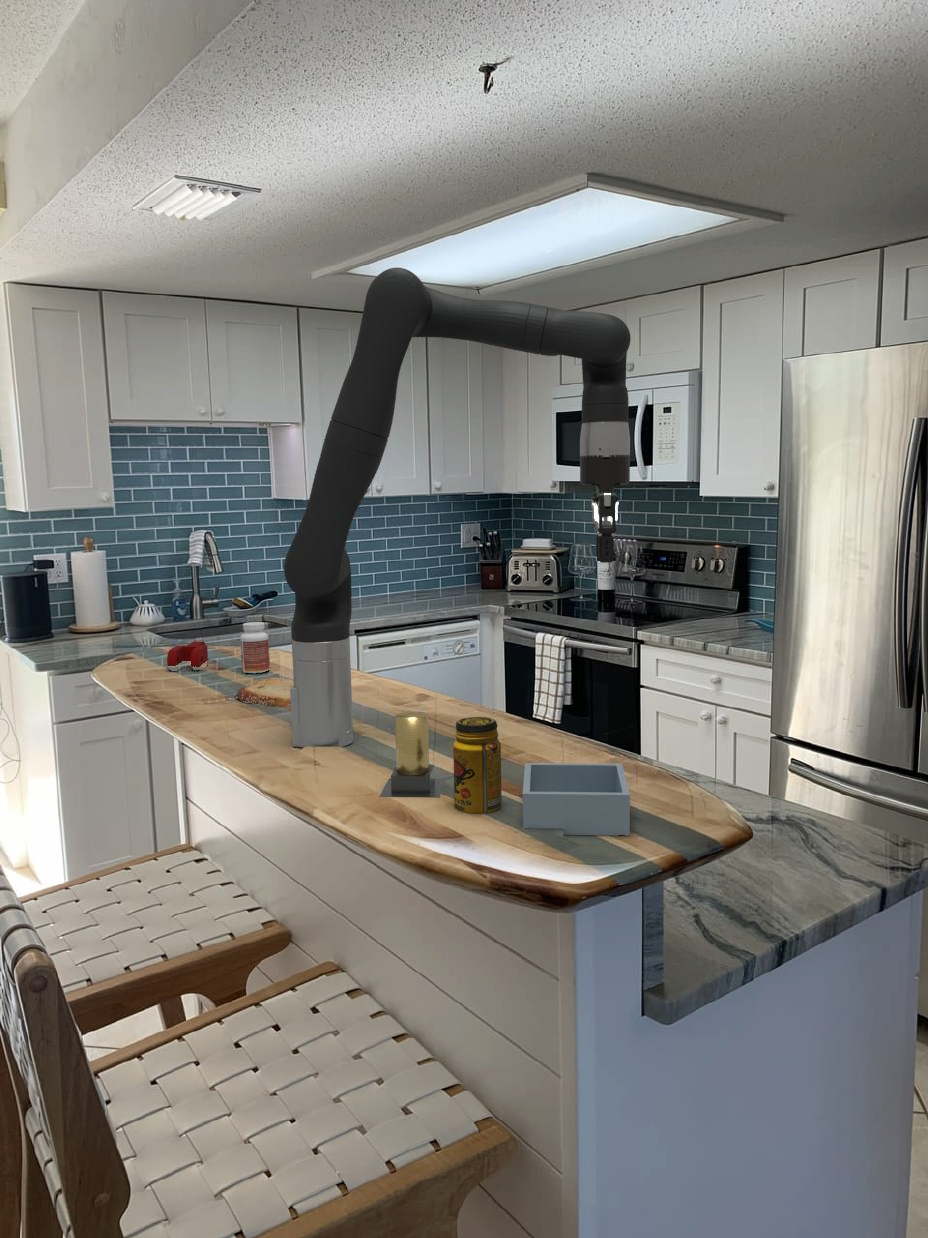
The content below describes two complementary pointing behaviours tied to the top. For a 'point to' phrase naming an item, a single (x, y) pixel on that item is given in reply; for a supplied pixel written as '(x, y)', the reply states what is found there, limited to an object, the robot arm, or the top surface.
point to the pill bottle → (254, 648)
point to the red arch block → (188, 654)
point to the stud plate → (434, 794)
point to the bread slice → (268, 692)
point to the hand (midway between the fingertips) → (604, 559)
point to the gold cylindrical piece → (412, 755)
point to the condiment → (477, 766)
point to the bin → (576, 798)
